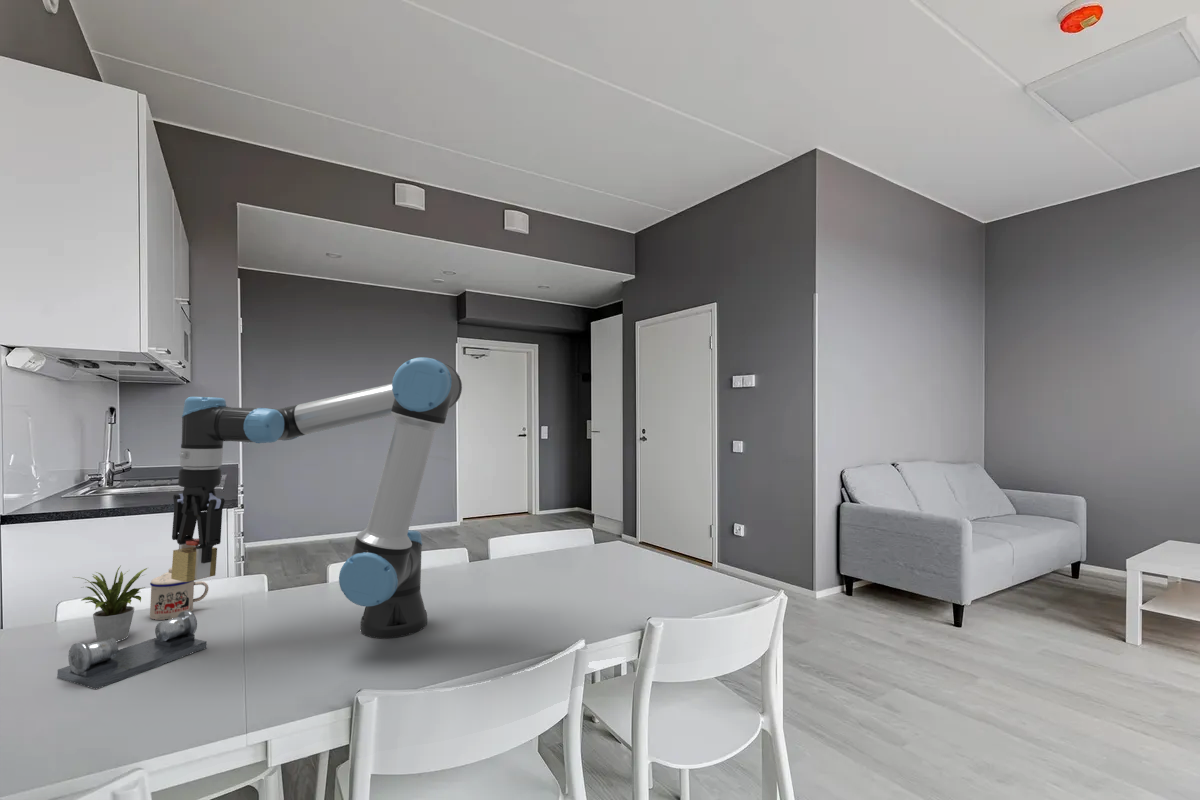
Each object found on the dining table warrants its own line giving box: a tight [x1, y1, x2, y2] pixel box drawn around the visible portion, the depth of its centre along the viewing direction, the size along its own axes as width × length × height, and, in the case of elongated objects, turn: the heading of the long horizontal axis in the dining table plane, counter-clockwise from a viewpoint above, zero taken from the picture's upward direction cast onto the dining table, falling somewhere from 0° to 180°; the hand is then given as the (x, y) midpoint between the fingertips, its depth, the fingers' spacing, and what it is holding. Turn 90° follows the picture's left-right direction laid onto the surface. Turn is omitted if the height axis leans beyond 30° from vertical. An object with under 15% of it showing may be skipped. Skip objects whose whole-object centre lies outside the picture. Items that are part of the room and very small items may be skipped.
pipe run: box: [57, 610, 207, 690], centre depth 115 cm, size 20×12×7 cm, turn 159°
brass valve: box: [171, 538, 218, 582], centre depth 122 cm, size 6×5×8 cm
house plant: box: [73, 566, 148, 642], centre depth 125 cm, size 14×14×16 cm
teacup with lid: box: [149, 567, 209, 621], centre depth 143 cm, size 12×9×12 cm
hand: (193, 575), depth 122 cm, fingers closed on brass valve, 5 cm apart
